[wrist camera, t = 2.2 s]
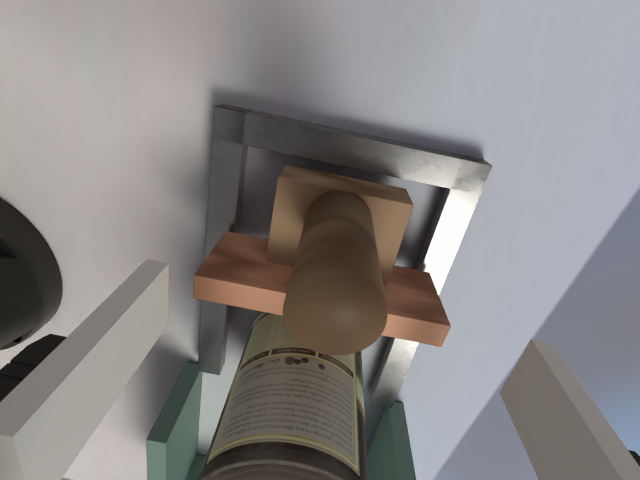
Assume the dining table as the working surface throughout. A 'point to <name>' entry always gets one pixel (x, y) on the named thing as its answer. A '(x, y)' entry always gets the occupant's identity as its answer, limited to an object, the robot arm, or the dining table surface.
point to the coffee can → (290, 413)
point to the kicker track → (350, 151)
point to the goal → (186, 465)
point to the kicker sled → (329, 266)
